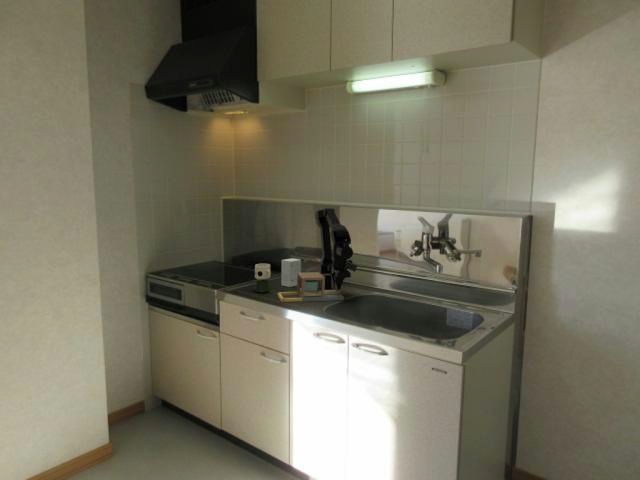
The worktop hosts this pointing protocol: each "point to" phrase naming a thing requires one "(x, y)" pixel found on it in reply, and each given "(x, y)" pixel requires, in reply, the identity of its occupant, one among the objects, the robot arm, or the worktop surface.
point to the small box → (290, 272)
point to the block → (310, 285)
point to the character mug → (262, 277)
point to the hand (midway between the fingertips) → (338, 289)
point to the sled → (318, 292)
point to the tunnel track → (301, 284)
